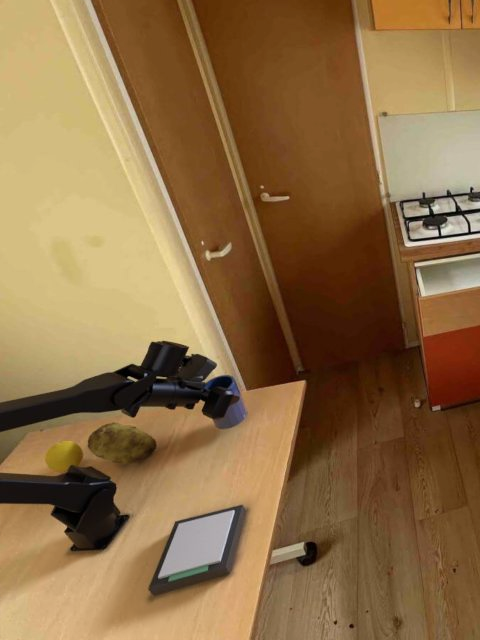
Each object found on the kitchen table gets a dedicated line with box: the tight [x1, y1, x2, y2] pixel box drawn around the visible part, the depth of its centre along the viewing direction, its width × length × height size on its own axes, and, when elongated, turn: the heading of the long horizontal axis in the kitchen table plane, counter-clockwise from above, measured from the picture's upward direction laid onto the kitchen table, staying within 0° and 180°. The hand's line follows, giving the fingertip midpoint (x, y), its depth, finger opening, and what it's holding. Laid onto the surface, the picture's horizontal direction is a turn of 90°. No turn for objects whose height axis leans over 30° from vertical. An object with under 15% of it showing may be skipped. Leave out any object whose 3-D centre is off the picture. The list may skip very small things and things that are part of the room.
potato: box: [87, 422, 157, 465], centre depth 97 cm, size 8×13×8 cm, turn 67°
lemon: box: [44, 440, 84, 473], centre depth 94 cm, size 6×6×8 cm
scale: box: [147, 504, 247, 597], centre depth 80 cm, size 12×12×3 cm
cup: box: [205, 374, 248, 430], centre depth 103 cm, size 7×7×11 cm
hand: (228, 394), depth 104 cm, fingers closed on cup, 7 cm apart
